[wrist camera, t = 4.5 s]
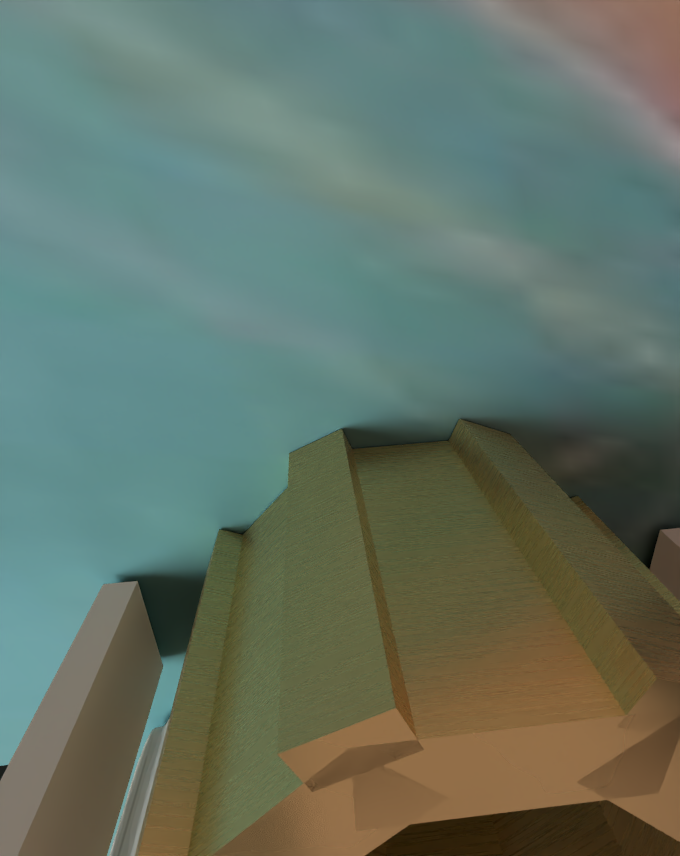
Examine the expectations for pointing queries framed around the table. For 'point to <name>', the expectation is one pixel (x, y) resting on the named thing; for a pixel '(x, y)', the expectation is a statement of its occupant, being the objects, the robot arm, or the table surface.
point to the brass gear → (423, 670)
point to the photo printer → (138, 795)
